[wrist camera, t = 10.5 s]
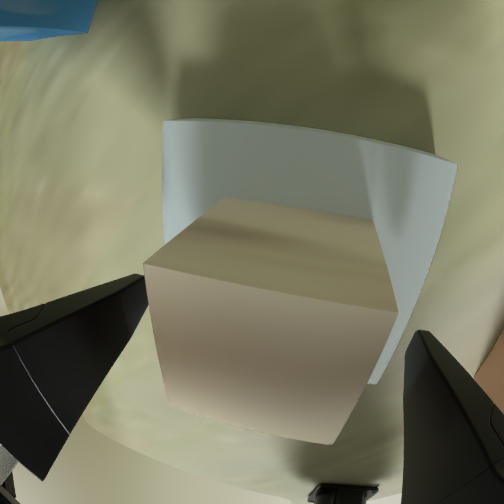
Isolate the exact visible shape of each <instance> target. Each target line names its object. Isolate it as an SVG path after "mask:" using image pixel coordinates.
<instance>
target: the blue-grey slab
mask: <svg viewBox="0 0 504 504" xmlns="http://www.w3.org/2000/svg"><path fill="white" fill-rule="evenodd" d="M457 167H458V164H456V163H453V162H451V161H449V160H447V159H444V158H442V157H440V156H438V155H435V154H432V153H428V152H425V151H421V150H417V149H413V148H410V147H406V146H402V145H398V144H393V143H389V142H385V141H380V140H376V139H371V138H366V137H361V136H356V135H351V134H345V133H340V132H334V131H328V130H322V129H315V128H308V127H301V126H293V125H285V124H276V123H266V122H255V121H243V120H228V119H206V118H188V119H175V120H165V121H163V135H162V197H163V227H164V245H165V244H167V243H168V242H169V241H170V240H172V239H173V238H174V237H175V236H176V235H178V234H179V233H180V232H181V231H183V230H184V229H185V228H186V227H187V226H189V225H190V224H191V223H192V222H194V221H195V220H196V219H197V218H199V217H200V216H201V215H203V214H204V213H205V212H206V211H208V210H209V209H210V208H211V207H213V206H214V205H215V204H217V203H218V202H219V201H220V200H222V199H223V198H224V197H228V198H236V199H244V200H251V201H258V202H265V203H272V204H279V205H285V206H292V207H298V208H305V209H311V210H317V211H323V212H329V213H335V214H340V215H346V216H352V217H357V218H362V219H368V220H373V222H374V225H375V228H376V232H377V235H378V238H379V241H380V244H381V248H382V251H383V255H384V258H385V261H386V265H387V269H388V272H389V276H390V280H391V284H392V287H393V291H394V295H395V299H396V304H397V308H398V312H399V313H398V316H397V318H396V321H395V323H394V326H393V328H392V330H391V333H390V335H389V338H388V340H387V342H386V344H385V347H384V349H383V351H382V353H381V356H380V358H379V360H378V362H377V364H376V366H375V368H374V370H373V373H372V375H371V377H370V379H369V381H368V384H376V385H377V383H378V381H379V380H380V378H381V376H382V374H383V372H384V370H385V368H386V367H387V365H388V363H389V361H390V359H391V357H392V355H393V353H394V351H395V349H396V347H397V345H398V343H399V341H400V338H401V336H402V334H403V332H404V330H405V328H406V325H407V323H408V321H409V319H410V316H411V314H412V312H413V309H414V307H415V304H416V302H417V300H418V297H419V295H420V292H421V290H422V287H423V284H424V282H425V279H426V276H427V274H428V271H429V268H430V265H431V262H432V259H433V256H434V253H435V250H436V247H437V244H438V241H439V238H440V235H441V231H442V228H443V224H444V221H445V217H446V214H447V210H448V206H449V202H450V198H451V194H452V190H453V185H454V181H455V176H456V172H457Z"/></svg>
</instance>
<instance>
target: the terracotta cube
mask: <svg viewBox="0 0 504 504" xmlns="http://www.w3.org/2000/svg"><path fill="white" fill-rule="evenodd" d="M474 379H475V381H476V382H477V383H478V385H479V386H480V387H481V388H482V389H483V390H484V391H485V393H486V394H487V395H488V396H489V397H490V398H491V400H492V401H493V403H495V404H496V405H497V407H498V408H499V409H500V410H501V412H502V413H503V414H504V329H503V331H502V333H501V335H500V336H499V338H498V340H497V342H496V343H495V345H494V347H493V348H492V350H491V351H490V353H489V355H488V356H487V358H486V359H485V361H484V362H483V364H482V366H481V367H480V369H479V370H478V371H477V373H476V374H475V376H474Z"/></svg>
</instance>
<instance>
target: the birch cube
mask: <svg viewBox="0 0 504 504" xmlns="http://www.w3.org/2000/svg"><path fill="white" fill-rule="evenodd" d="M143 267H144V275H145V282H146V290H147V296H148V303H149V309H150V315H151V321H152V327H153V333H154V338H155V343H156V348H157V353H158V358H159V363H160V368H161V372H162V377H163V381H164V385H165V390H166V394H167V398H168V402H169V405H170V406H172V407H175V408H178V409H181V410H184V411H187V412H190V413H193V414H196V415H199V416H202V417H205V418H208V419H212V420H215V421H218V422H222V423H225V424H229V425H233V426H236V427H240V428H244V429H248V430H252V431H256V432H261V433H265V434H269V435H274V436H279V437H284V438H289V439H295V440H300V441H306V442H313V443H319V444H326V445H333V443H334V442H335V440H336V438H337V437H338V435H339V433H340V432H341V430H342V428H343V427H344V425H345V423H346V422H347V420H348V418H349V416H350V414H351V413H352V411H353V409H354V407H355V405H356V404H357V402H358V400H359V398H360V396H361V394H362V392H363V390H364V389H365V387H366V385H367V383H368V381H369V379H370V377H371V375H372V373H373V370H374V368H375V366H376V364H377V362H378V360H379V358H380V356H381V353H382V351H383V349H384V347H385V344H386V342H387V340H388V338H389V335H390V333H391V330H392V328H393V326H394V323H395V321H396V318H397V316H398V313H399V312H398V308H397V304H396V299H395V295H394V291H393V287H392V284H391V280H390V276H389V272H388V269H387V265H386V261H385V258H384V255H383V251H382V248H381V244H380V241H379V238H378V235H377V232H376V228H375V225H374V222H373V220H368V219H362V218H357V217H352V216H346V215H340V214H335V213H329V212H323V211H317V210H311V209H305V208H298V207H292V206H285V205H279V204H272V203H265V202H258V201H251V200H244V199H236V198H228V197H224V198H223V199H222V200H220V201H219V202H218V203H217V204H215V205H214V206H213V207H211V208H210V209H209V210H208V211H206V212H205V213H204V214H203V215H201V216H200V217H199V218H197V219H196V220H195V221H194V222H192V223H191V224H190V225H189V226H187V227H186V228H185V229H184V230H183V231H181V232H180V233H179V234H178V235H176V236H175V237H174V238H173V239H172V240H170V241H169V242H168V243H167V244H165V245H164V246H163V247H162V248H161V249H159V250H158V251H157V252H156V253H155V254H153V255H152V256H151V257H150V258H149V259H148V260H146V261H145V262H144V263H143Z"/></svg>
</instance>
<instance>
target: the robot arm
mask: <svg viewBox="0 0 504 504" xmlns="http://www.w3.org/2000/svg"><path fill="white" fill-rule="evenodd" d="M148 305H149V303H148V296H147V290H146V282H145V276H143V275H140V274H132V275H129V276H126V277H123V278H120V279H117V280H114V281H111V282H108V283H105V284H102V285H99V286H95V287H92V288H89V289H86V290H83V291H80V292H77V293H74V294H71V295H68V296H65V297H62V298H59V299H56V300H53V301H50V302H47V303H46V304H41V305H38V306H35V307H32V308H29V309H26V310H23V311H19V312H16V313H12V314H9V315H5V316H1V317H0V504H20V503H19V502H18V501H17V500H16V499H15V497H16V494H15V488H14V481H13V474H12V470H13V469H14V468H15V466H16V465H17V463H18V462H19V463H20V464H22V465H23V466H24V467H25V468H26V469H27V470H29V471H30V472H31V473H32V474H33V475H35V476H36V477H37V478H38V479H40V480H41V481H43V480H44V479H45V478H46V476H47V474H48V472H49V470H50V468H51V467H52V465H53V463H54V461H55V460H56V458H57V456H58V454H59V452H60V450H61V449H62V447H63V446H64V444H65V442H66V440H67V439H68V437H69V434H70V433H71V431H72V430H73V428H74V427H75V425H76V423H77V422H78V420H79V418H80V416H81V415H82V413H83V412H84V410H85V409H86V407H87V405H88V404H89V402H90V400H91V399H92V397H93V396H94V394H95V392H96V391H97V389H98V388H99V386H100V385H101V383H102V381H103V380H104V378H105V377H106V375H107V374H108V372H109V371H110V369H111V367H112V366H113V364H114V363H115V361H116V360H117V358H118V357H119V355H120V354H121V352H122V351H123V349H124V348H125V346H126V345H127V343H128V342H129V340H130V338H131V337H132V335H133V333H134V331H135V329H136V327H137V325H138V323H139V322H140V320H141V318H142V316H143V314H144V312H145V310H146V308H147V307H148ZM403 411H404V467H403V486H402V500H401V504H504V414H503V413H502V412H501V410H500V409H499V408H498V407H497V405H496V404H495V403H493V401H492V400H491V398H490V397H489V396H488V395H487V394H486V393H485V391H484V390H483V389H482V388H481V387H480V386H479V385H478V383H477V382H476V381H475V380H474V379H473V378H472V377H471V375H470V374H469V373H468V372H467V371H466V370H465V369H464V368H463V367H462V365H461V364H460V363H459V362H458V361H457V360H456V359H455V358H454V357H453V356H452V355H451V354H450V352H449V351H448V350H447V349H446V348H445V347H444V346H443V345H442V344H441V343H440V342H439V341H438V340H437V339H436V338H435V337H434V336H433V335H432V334H431V333H430V332H429V331H425V330H417V331H416V332H415V333H414V335H413V337H412V340H411V342H410V344H409V346H408V348H407V350H406V353H405V371H404V392H403ZM377 492H378V488H376V487H353V486H339V485H329V484H320V485H319V486H318V487H317V489H316V490H315V491H314V492H313V493H312V494H311V495H310V496H309V498H308V500H307V501H308V502H312V503H314V504H366V500H368V499H369V498H371V497H372V496H373V495H375V494H376V493H377Z"/></svg>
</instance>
